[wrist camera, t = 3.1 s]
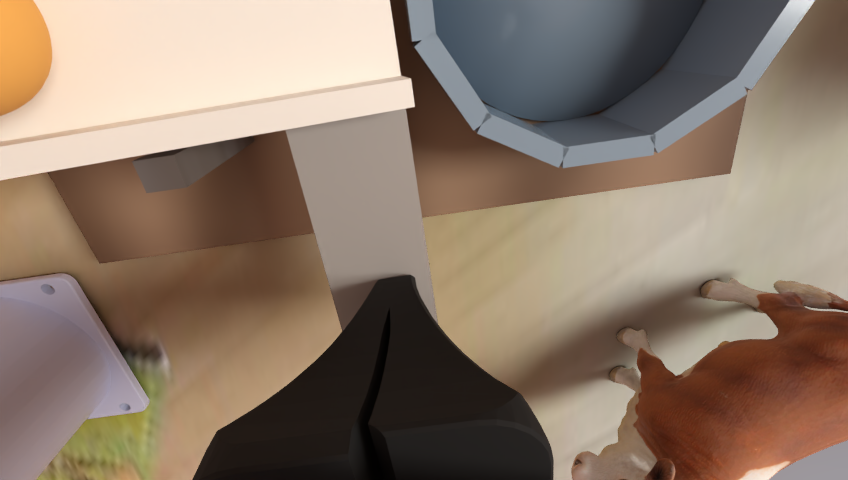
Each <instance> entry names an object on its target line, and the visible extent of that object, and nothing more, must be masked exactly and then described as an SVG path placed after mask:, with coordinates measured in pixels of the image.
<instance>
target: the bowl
mask: <svg viewBox="0 0 848 480" xmlns="http://www.w3.org/2000/svg"><path fill="white" fill-rule="evenodd" d="M404 1H405V8H406V15H407V23H408V30H409V38H410V41H412V42H413V41H416V42H415V43H414V44H412V47H413V48H414V49H415V51H416V52H417V54H418V55H419V57H420V58H421V59H422V61H423V62H424V64H425V65H426V66H427V68H428V69H429V71H430V72H431V73H432V75H433V76H434V78H435V79H436V80H437V82H438V83H439V85H440V86H441V88H442V89H443V90H444V92H445V93H446V95H447V96H448V97H449V99H450V100H451V102H452V103H453V104H454V106H455V107H456V109H457V110H458V111H459V113H460V114H461V115H462V117H463V118H464V119H465V120H466V122H467V123H468V124H469V125H470V127H471V128H472V129H473V131H474V130H475V131H476V133H477V134H479V135H482V136H484V137H487V138H489V139H491V140H494V141H496V142H499V143H501V144H503V145H506V146H508V147H510V148H513V149H515V150H518V151H520V152H522V153H525V154H527V155H530V156H532V157H534V158H537V159H539V160H541V161H544V162H546V163H549V164H551V165H553V166H556V167H558V168H559V166H561V167H562V168H567V167H574V166H581V165H588V164H595V163H602V162H609V161H616V160H623V159H630V158H637V157H644V156H651V155H654V152H656V153H659V152H661V151H662V150H664V149H665V148H667V147H668V146H670V145H671V144H673V143H674V142H676V141H677V140H679V139H680V138H682V137H683V136H685V135H686V134H688V133H689V132H691V131H692V130H694V129H695V128H697V127H698V126H700V125H701V124H703V123H704V122H706V121H707V120H709V119H711V118H712V117H714V116H715V115H717V114H718V113H720V112H721V111H723V110H724V109H726V108H727V107H729V106H730V105H732V104H733V103H735V102H736V101H738V100H739V99H741V98H742V97H744V96H745V95H747V92H746V89H748V90H752V89H753V87H754V86H755V84H756V83H757V82H758V80H759V79H760V77H761V76H762V74H763V73H764V72H765V70H766V69H767V67H768V66H769V65H770V63H771V62H772V60H773V59H774V58H775V56H776V55H777V53H778V52H779V51H780V49H781V48H782V46H783V45H784V43H785V42H786V41H787V39H788V38H789V36H790V35H791V34H792V32H793V31H794V29H795V28H796V27H797V25H798V24H799V22H800V21H801V20H802V18H803V17H804V15H805V14H806V12H807V11H808V10H809V8H810V7H811V5H812V4H813V3H814V1H815V0H404ZM664 63H665V64H664ZM663 64H664V65H663ZM662 65H663V67H662ZM661 67H662V69H661V70H659V69H660V68H661ZM658 70H659V71H658ZM656 71H658V72H656ZM655 72H656V73H655ZM654 73H655V74H654ZM653 74H654V75H653ZM480 99H482V100H483V101H484V102H486V103H487V104H489V105H491V106H493V107H491V106H489V105H487V104H485V103H482V101H481V100H480ZM608 106H609V107H608ZM494 107H495V108H494ZM606 107H607V108H606ZM604 108H606V109H605V110H603V111H602V112H601V113H599V114H595V115H589V114H592V113H595V112H597V111H600V110H602V109H604ZM507 113H508V114H507ZM512 115H513V116H512ZM586 115H588V116H586ZM514 116H516V117H514ZM517 117H520V118H525V119H530V120H537V121H547V122H540V123H534V124H530V123H528V122H526V121H523V120H521V119H519V118H517Z"/></svg>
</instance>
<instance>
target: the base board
mask: <svg viewBox="0 0 848 480" xmlns="http://www.w3.org/2000/svg"><path fill="white" fill-rule="evenodd" d="M390 5H391V12H392V19H393V26H394V32H395V39H396V46H397V52H398V59H399V66H400V73H401V76H404V77H408V78H411V82H412V89H413V96H414V103H415V107H411V108H406V113H407V120H408V126H409V133H410V140H411V146H412V153H413V160H414V167H415V173H416V180H417V187H418V194H419V200H420V207H421V214H422V217H429V216H436V215H443V214H450V213H457V212H464V211H471V210H478V209H485V208H492V207H499V206H506V205H513V204H520V203H527V202H534V201H541V200H548V199H555V198H562V197H569V196H576V195H583V194H590V193H597V192H604V191H611V190H618V189H625V188H632V187H639V186H646V185H653V184H660V183H667V182H674V181H681V180H688V179H695V178H702V177H709V176H716V175H723V174H730V172H731V168H732V163H733V158H734V153H735V149H736V144H737V139H738V135H739V130H740V125H741V120H742V116H743V111H744V106H745V101H746V97H747V95H745V96H744V97H742V98H741V99H739V100H738V101H736V102H735V103H733V104H732V105H730V106H729V107H727V108H726V109H724V110H723V111H721V112H720V113H718V114H717V115H715V116H714V117H712V118H711V119H709V120H707V121H706V122H704V123H703V124H701V125H700V126H698V127H697V128H695V129H694V130H692V131H691V132H689V133H688V134H686V135H685V136H683V137H682V138H680V139H679V140H677V141H676V142H674V143H673V144H671V145H670V146H668V147H667V148H665V149H664V150H662V151H661V152H659V153H656V152H654V155H651V156H644V157H637V158H630V159H623V160H616V161H609V162H602V163H595V164H588V165H581V166H574V167H567V168H562V167H561V166H559V168H558V167H556V166H553V165H551V164H549V163H546V162H544V161H541V160H539V159H537V158H534V157H532V156H530V155H527V154H525V153H522V152H520V151H518V150H515V149H513V148H510V147H508V146H506V145H503V144H501V143H499V142H496V141H494V140H491V139H489V138H487V137H484V136H482V135H479V134H477V133H476V131H475V130H474V131H473V129H472V128H471V127H470V125H469V124H468V123H467V122H466V120H465V119H464V118H463V117H462V115H461V114H460V113H459V111H458V110H457V109H456V107H455V106H454V104H453V103H452V102H451V100H450V99H449V97H448V96H447V95H446V93H445V92H444V90H443V89H442V88H441V86H440V85H439V83H438V82H437V80H436V79H435V78H434V76H433V75H432V73H431V72H430V71H429V69H428V68H427V66H426V65H425V64H424V62H423V61H422V59H421V58H420V57H419V55H418V54H417V52H416V51H415V49H414V48H413V47H412V44H414V43H415V42H416V41H413V42H412V41H410V38H409V30H408V23H407V15H406V8H405V1H404V0H390ZM664 64H665V63H664ZM664 64H663V65H664ZM663 65H662V67H663ZM662 67H661V68H660V69H659V70H661V69H662ZM659 70H658V71H659ZM658 71H656V72H658ZM656 72H655V73H656ZM655 73H654V74H655ZM654 74H653V75H654ZM746 92H748V89H746ZM480 100H481V101H482V103H485V104H487V103H486V102H484V101H483V100H482V99H480ZM487 105H489V104H487ZM489 106H491V105H489ZM491 107H493V106H491ZM608 107H609V106H608ZM494 108H495V107H494ZM606 108H607V107H606ZM606 108H604V109H602V110H600V111H597V112H595V113H592V114H589V115H595V114H599V113H601V112H602V111H603V110H605V109H606ZM507 114H508V113H507ZM512 116H513V115H512ZM586 116H588V115H586ZM514 117H516V116H514ZM517 118H519V119H521V120H523V121H526V122H528V123H530V124H534V123H540V122H547V121H537V120H530V119H525V118H520V117H517ZM48 174H49V175H50V177H51V179H52V181H53V182H54V184H55V186H56V188H57V189H58V191H59V193H60V195H61V197H62V198H63V200H64V202H65V204H66V205H67V207H68V209H69V211H70V212H71V214H72V216H73V218H74V219H75V221H76V223H77V225H78V226H79V228H80V230H81V232H82V233H83V235H84V237H85V239H86V240H87V242H88V244H89V246H90V248H91V249H92V251H93V253H94V255H95V256H96V258H97V260H98V262H99V263H107V262H114V261H121V260H128V259H135V258H142V257H149V256H156V255H163V254H170V253H177V252H184V251H191V250H198V249H205V248H212V247H219V246H226V245H233V244H240V243H247V242H254V241H261V240H268V239H275V238H282V237H289V236H296V235H303V234H310V233H314V229H313V226H312V222H311V219H310V215H309V212H308V208H307V205H306V201H305V197H304V194H303V190H302V187H301V183H300V180H299V176H298V173H297V169H296V166H295V162H294V159H293V155H292V152H291V148H290V145H289V141H288V138H287V134H286V130H281V131H276V132H270V133H265V134H259V135H253V136H248V137H242V138H236V139H231V140H225V141H219V142H214V143H208V144H202V145H197V146H191V147H186V148H180V149H174V150H169V151H163V152H157V153H152V154H146V155H140V156H135V157H129V158H123V159H118V160H112V161H107V162H101V163H95V164H90V165H84V166H78V167H73V168H67V169H61V170H56V171H50V172H48Z"/></svg>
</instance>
